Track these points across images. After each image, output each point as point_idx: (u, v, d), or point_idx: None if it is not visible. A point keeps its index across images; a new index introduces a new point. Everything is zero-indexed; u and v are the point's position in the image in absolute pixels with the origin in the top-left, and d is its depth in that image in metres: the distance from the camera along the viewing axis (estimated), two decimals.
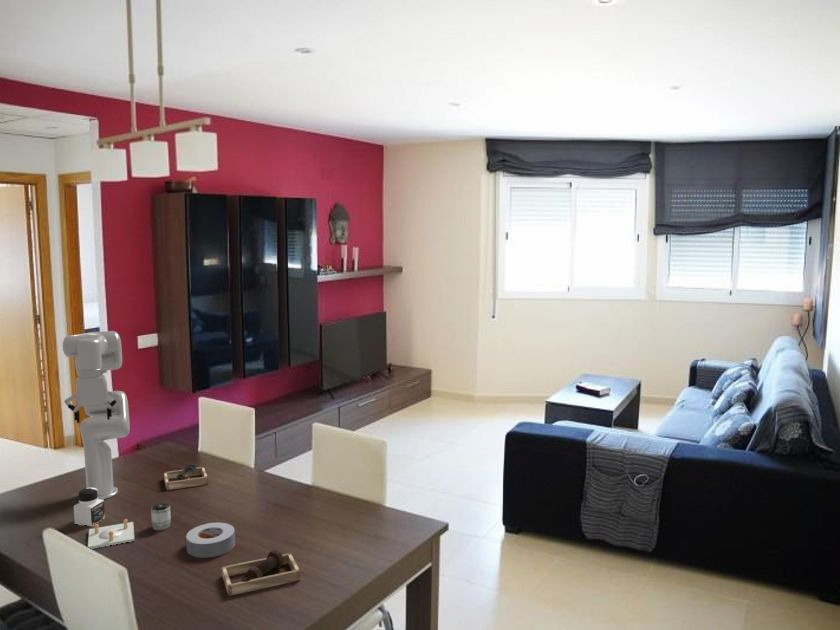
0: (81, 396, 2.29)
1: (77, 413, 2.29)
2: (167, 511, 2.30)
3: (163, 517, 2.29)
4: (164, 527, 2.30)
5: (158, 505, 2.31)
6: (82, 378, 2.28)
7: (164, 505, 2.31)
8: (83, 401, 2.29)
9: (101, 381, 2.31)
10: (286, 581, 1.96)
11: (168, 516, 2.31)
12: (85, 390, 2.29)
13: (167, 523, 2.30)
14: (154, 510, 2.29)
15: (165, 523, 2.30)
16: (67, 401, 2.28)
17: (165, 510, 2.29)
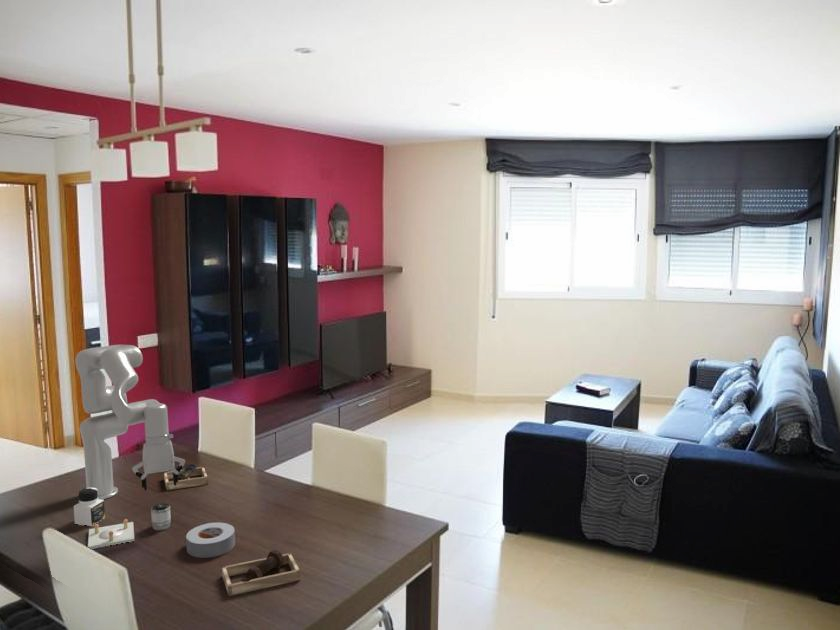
0: (148, 463, 2.25)
1: (145, 480, 2.26)
2: (167, 511, 2.30)
3: (163, 517, 2.29)
4: (164, 527, 2.30)
5: (158, 505, 2.31)
6: (150, 445, 2.24)
7: (164, 505, 2.31)
8: (151, 468, 2.26)
9: (168, 447, 2.28)
10: (286, 581, 1.96)
11: (168, 516, 2.31)
12: (153, 457, 2.26)
13: (167, 523, 2.30)
14: (154, 510, 2.29)
15: (165, 523, 2.30)
16: (135, 468, 2.25)
17: (165, 510, 2.29)
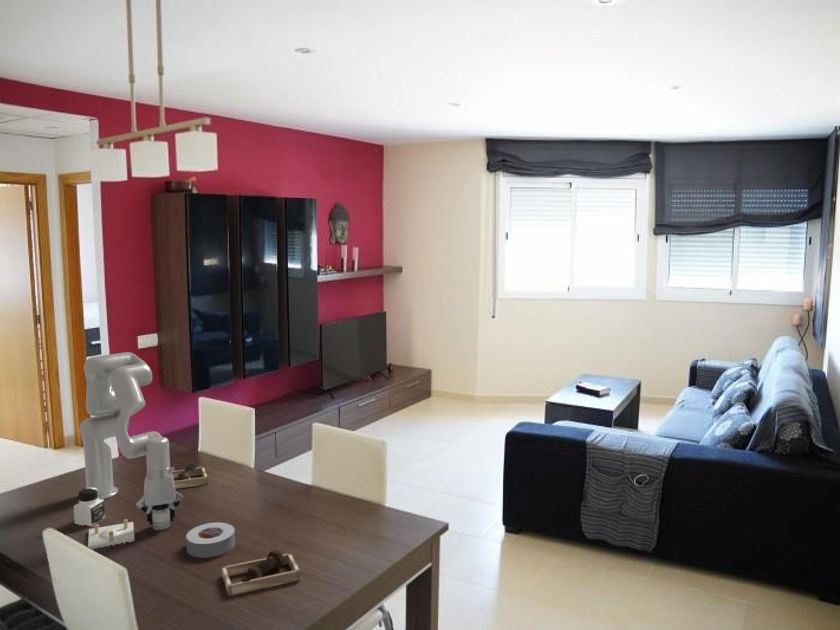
0: (150, 496, 2.27)
1: (150, 515, 2.29)
2: (167, 511, 2.30)
3: (163, 517, 2.29)
4: (164, 527, 2.30)
5: (158, 505, 2.31)
6: (151, 479, 2.26)
7: (164, 505, 2.31)
8: (152, 501, 2.28)
9: (169, 480, 2.29)
10: (286, 581, 1.96)
11: (168, 516, 2.31)
12: (154, 491, 2.27)
13: (167, 523, 2.30)
14: (154, 510, 2.29)
15: (165, 523, 2.30)
16: (139, 504, 2.27)
17: (165, 510, 2.29)
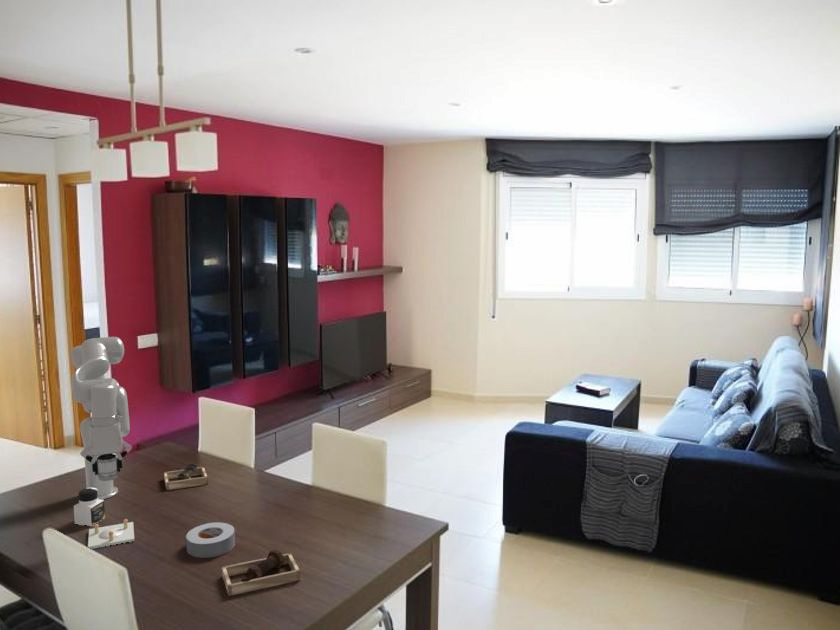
0: (94, 445, 2.17)
1: (95, 465, 2.18)
2: (113, 461, 2.20)
3: (109, 467, 2.19)
4: (110, 478, 2.20)
5: (104, 455, 2.21)
6: (96, 426, 2.16)
7: (111, 455, 2.21)
8: (97, 450, 2.17)
9: (116, 429, 2.19)
10: (286, 581, 1.96)
11: (115, 466, 2.20)
12: (99, 439, 2.17)
13: (113, 474, 2.20)
14: (99, 460, 2.18)
15: (111, 473, 2.19)
16: (83, 453, 2.17)
17: (111, 460, 2.19)
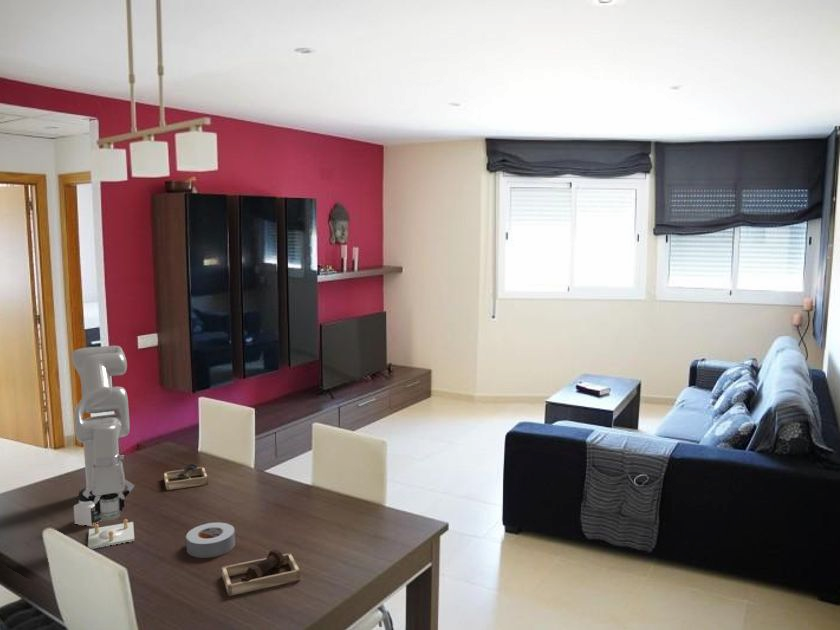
0: (97, 485, 2.18)
1: (98, 504, 2.20)
2: (116, 501, 2.21)
3: (112, 507, 2.20)
4: (113, 517, 2.21)
5: (107, 494, 2.23)
6: (98, 467, 2.18)
7: (113, 494, 2.23)
8: (99, 490, 2.19)
9: (118, 468, 2.21)
10: (286, 581, 1.96)
11: (117, 506, 2.22)
12: (102, 479, 2.19)
13: (116, 513, 2.22)
14: (102, 499, 2.20)
15: (114, 513, 2.21)
16: (85, 493, 2.19)
17: (113, 499, 2.21)
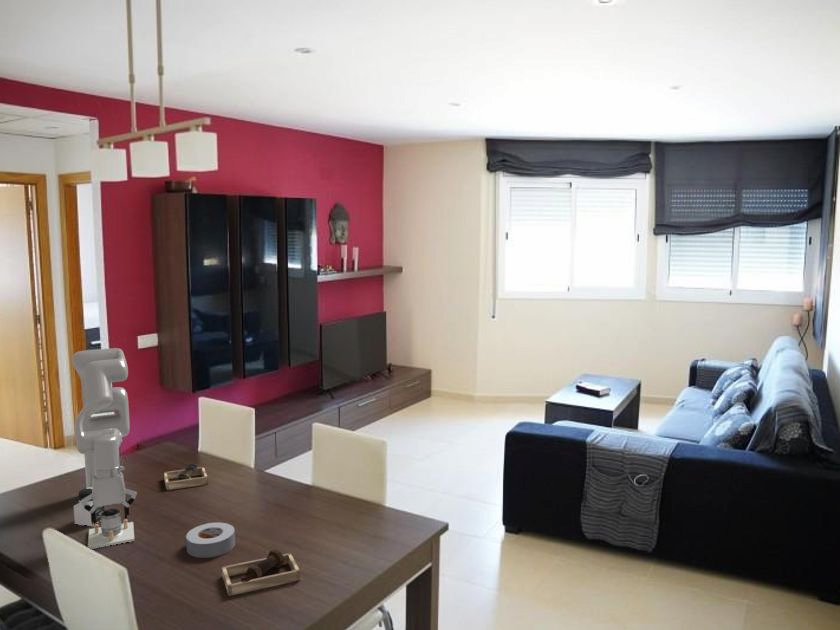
0: (98, 496, 2.19)
1: (94, 514, 2.20)
2: (117, 517, 2.22)
3: (113, 523, 2.22)
4: (114, 533, 2.22)
5: (108, 510, 2.24)
6: (99, 478, 2.18)
7: (114, 511, 2.24)
8: (100, 501, 2.20)
9: (118, 480, 2.21)
10: (286, 581, 1.96)
11: (118, 522, 2.23)
12: (102, 491, 2.19)
13: (117, 529, 2.23)
14: (103, 516, 2.21)
15: (115, 529, 2.22)
16: (83, 501, 2.19)
17: (115, 516, 2.22)
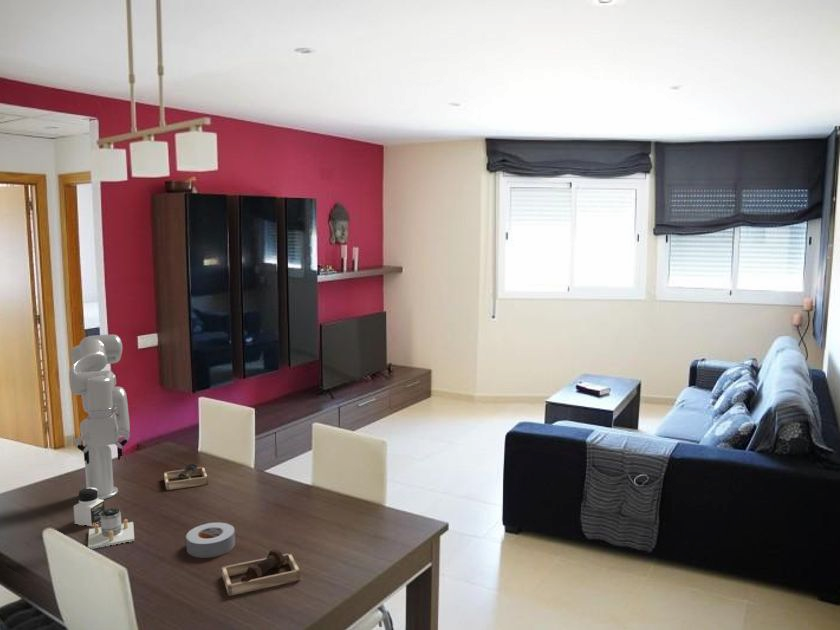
0: (91, 436, 2.20)
1: (87, 454, 2.21)
2: (117, 517, 2.22)
3: (113, 523, 2.21)
4: (114, 533, 2.22)
5: (108, 510, 2.24)
6: (92, 418, 2.19)
7: (114, 510, 2.24)
8: (93, 442, 2.21)
9: (112, 421, 2.23)
10: (286, 581, 1.96)
11: (118, 522, 2.23)
12: (96, 431, 2.21)
13: (117, 529, 2.23)
14: (103, 516, 2.21)
15: (115, 529, 2.22)
16: (76, 441, 2.20)
17: (114, 516, 2.22)
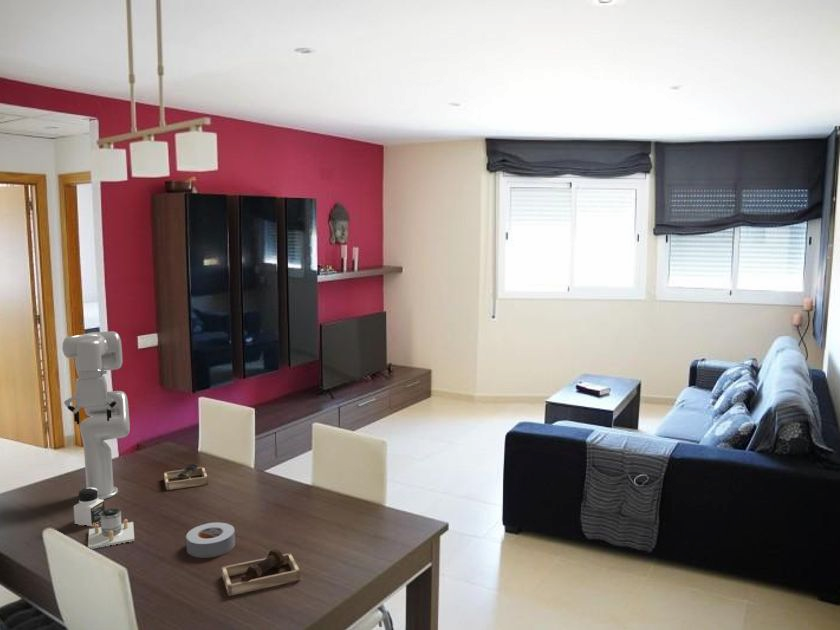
0: (80, 397, 2.29)
1: (77, 414, 2.29)
2: (117, 517, 2.22)
3: (113, 523, 2.22)
4: (114, 533, 2.22)
5: (108, 510, 2.24)
6: (82, 379, 2.28)
7: (114, 510, 2.24)
8: (83, 402, 2.29)
9: (101, 382, 2.31)
10: (286, 581, 1.96)
11: (118, 522, 2.23)
12: (85, 392, 2.29)
13: (117, 529, 2.23)
14: (103, 516, 2.21)
15: (115, 529, 2.22)
16: (67, 402, 2.28)
17: (115, 516, 2.22)
